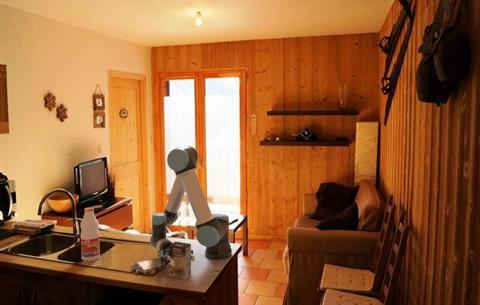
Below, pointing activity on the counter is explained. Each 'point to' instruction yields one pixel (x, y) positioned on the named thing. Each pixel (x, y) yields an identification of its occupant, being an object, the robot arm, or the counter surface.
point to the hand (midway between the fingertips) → (183, 261)
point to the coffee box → (180, 260)
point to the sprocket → (147, 266)
